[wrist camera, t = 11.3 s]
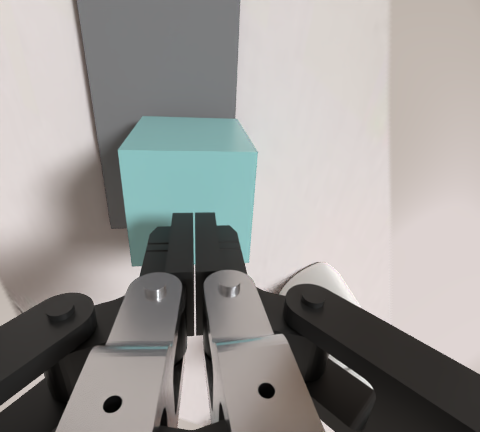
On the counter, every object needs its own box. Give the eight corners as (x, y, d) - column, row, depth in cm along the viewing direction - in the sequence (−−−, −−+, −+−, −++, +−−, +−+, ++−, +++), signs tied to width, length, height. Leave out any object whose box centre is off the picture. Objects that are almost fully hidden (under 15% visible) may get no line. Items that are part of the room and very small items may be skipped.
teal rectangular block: (142, 116, 18) (117, 150, 12) (237, 118, 18) (257, 151, 13) (149, 202, 20) (131, 266, 14) (233, 202, 21) (248, 262, 15)
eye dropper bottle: (341, 295, 28) (433, 448, 17) (279, 314, 28) (331, 478, 17) (334, 255, 26) (434, 401, 15) (266, 276, 26) (318, 436, 15)
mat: (20, -395, 11) (14, -410, 11) (253, -342, 12) (255, -354, 12) (112, 225, 22) (111, 228, 22) (230, 223, 23) (230, 226, 23)
